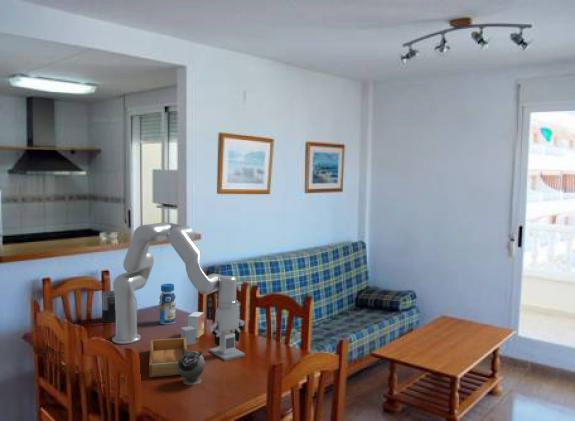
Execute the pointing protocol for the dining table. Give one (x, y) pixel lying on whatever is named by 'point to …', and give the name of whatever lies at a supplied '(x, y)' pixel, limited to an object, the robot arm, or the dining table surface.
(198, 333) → the small box
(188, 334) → the grey block
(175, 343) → the tray
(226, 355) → the grey mat
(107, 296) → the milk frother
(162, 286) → the beverage bottle
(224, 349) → the label box
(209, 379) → the dining table surface
